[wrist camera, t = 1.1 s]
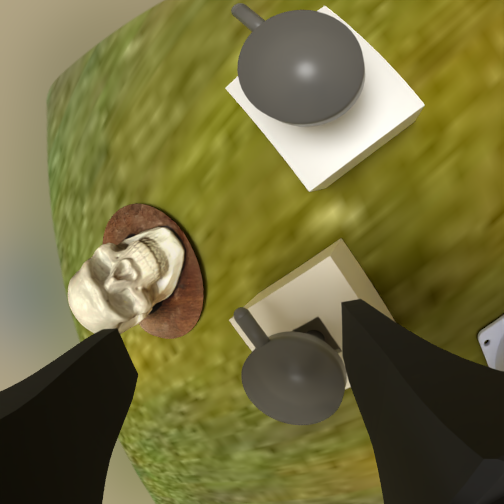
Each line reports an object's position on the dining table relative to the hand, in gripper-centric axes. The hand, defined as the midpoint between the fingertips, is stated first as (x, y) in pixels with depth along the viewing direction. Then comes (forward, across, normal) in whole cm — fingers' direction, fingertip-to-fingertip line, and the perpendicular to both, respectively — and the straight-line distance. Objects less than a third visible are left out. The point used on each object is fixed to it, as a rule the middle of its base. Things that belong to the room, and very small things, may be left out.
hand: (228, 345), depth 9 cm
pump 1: (+8, -5, -9) cm, 12 cm away
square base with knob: (+11, -7, -7) cm, 15 cm away
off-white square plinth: (+10, -5, +5) cm, 12 cm away
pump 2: (+6, -3, +4) cm, 8 cm away
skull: (+16, +9, +3) cm, 19 cm away
